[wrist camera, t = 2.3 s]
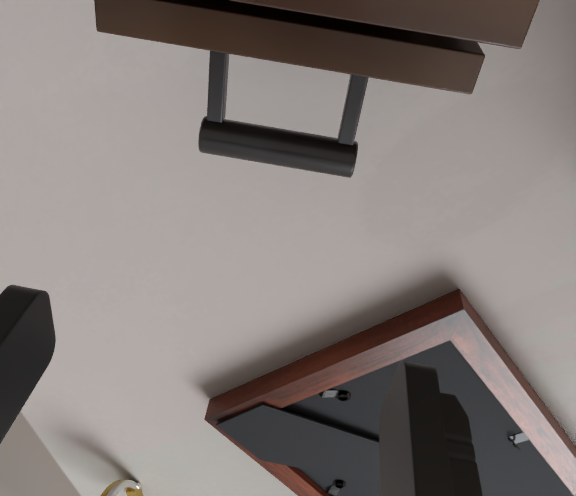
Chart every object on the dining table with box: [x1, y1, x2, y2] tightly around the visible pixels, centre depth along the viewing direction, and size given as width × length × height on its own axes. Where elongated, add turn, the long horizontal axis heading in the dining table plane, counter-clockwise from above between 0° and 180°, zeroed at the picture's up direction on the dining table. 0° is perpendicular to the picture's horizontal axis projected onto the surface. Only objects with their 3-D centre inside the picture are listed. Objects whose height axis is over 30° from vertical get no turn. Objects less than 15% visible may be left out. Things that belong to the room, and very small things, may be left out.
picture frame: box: [204, 289, 576, 496], centre depth 40 cm, size 20×2×25 cm
